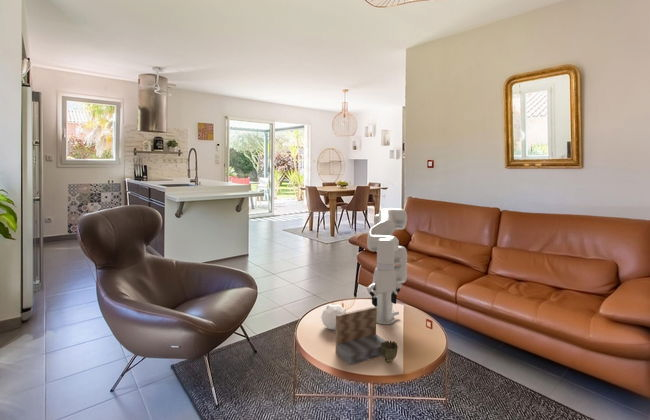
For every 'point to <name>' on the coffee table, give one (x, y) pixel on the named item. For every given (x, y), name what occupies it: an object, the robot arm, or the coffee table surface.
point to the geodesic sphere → (331, 315)
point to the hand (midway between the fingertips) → (384, 304)
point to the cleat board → (358, 336)
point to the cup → (389, 350)
